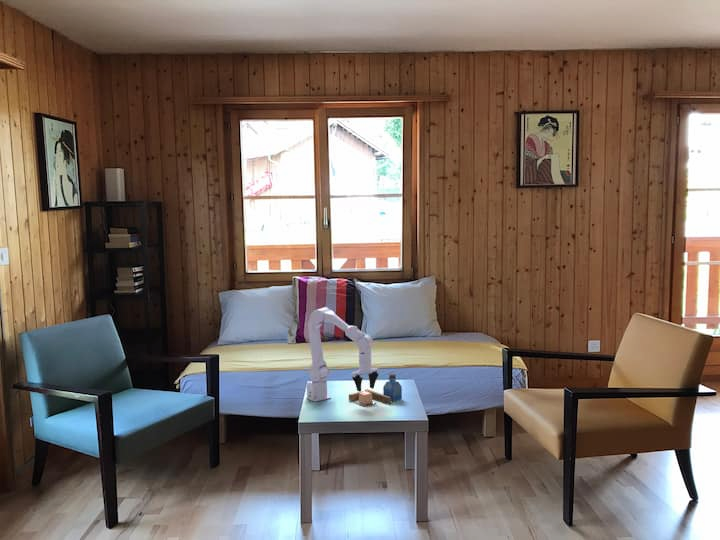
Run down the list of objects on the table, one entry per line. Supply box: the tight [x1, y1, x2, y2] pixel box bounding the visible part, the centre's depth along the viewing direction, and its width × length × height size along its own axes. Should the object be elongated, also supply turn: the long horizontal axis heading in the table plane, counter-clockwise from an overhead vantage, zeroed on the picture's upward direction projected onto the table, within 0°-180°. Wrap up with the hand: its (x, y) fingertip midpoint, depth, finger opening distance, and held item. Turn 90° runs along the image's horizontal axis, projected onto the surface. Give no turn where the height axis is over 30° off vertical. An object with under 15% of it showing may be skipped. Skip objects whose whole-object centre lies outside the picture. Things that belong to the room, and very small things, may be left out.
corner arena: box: [348, 388, 392, 408], centre depth 294 cm, size 13×18×3 cm
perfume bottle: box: [382, 373, 403, 403], centre depth 297 cm, size 6×6×12 cm
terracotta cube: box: [358, 391, 373, 405], centre depth 292 cm, size 4×4×5 cm
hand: (365, 389), depth 292 cm, fingers open, 7 cm apart
